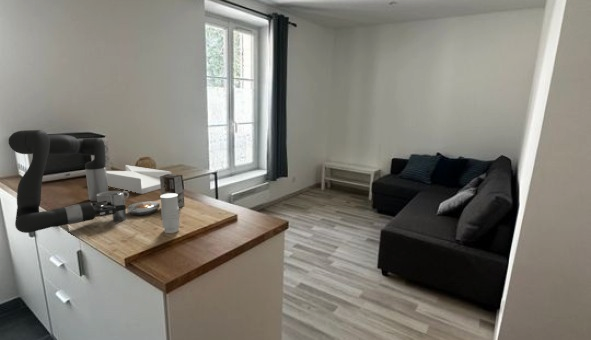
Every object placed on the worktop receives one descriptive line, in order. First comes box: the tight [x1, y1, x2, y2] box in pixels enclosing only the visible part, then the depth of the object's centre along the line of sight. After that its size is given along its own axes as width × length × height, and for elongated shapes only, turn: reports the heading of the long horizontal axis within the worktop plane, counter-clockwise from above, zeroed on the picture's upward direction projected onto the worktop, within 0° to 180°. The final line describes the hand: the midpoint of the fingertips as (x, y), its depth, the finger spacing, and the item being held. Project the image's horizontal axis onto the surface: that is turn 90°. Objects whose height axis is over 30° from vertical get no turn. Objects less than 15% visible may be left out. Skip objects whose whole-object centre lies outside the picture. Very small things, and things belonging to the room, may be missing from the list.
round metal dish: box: [126, 200, 161, 217], centre depth 150 cm, size 14×14×3 cm
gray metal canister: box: [110, 191, 127, 223], centre depth 139 cm, size 5×5×12 cm
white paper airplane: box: [106, 164, 173, 195], centre depth 199 cm, size 45×22×10 cm, turn 63°
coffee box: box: [160, 173, 185, 208], centre depth 158 cm, size 9×6×16 cm
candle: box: [159, 193, 181, 234], centre depth 128 cm, size 7×7×15 cm
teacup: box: [96, 190, 130, 202], centre depth 155 cm, size 14×11×8 cm
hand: (122, 204), depth 140 cm, fingers open, 8 cm apart
